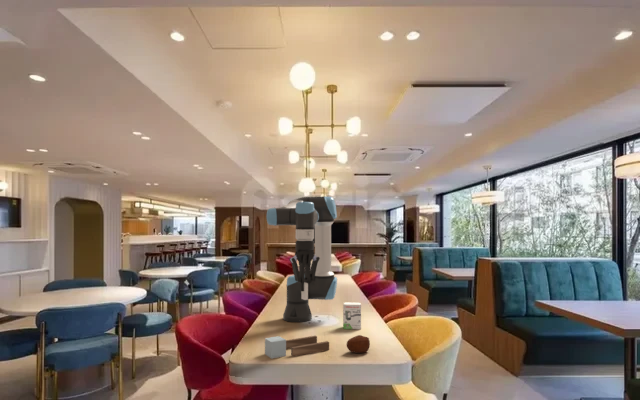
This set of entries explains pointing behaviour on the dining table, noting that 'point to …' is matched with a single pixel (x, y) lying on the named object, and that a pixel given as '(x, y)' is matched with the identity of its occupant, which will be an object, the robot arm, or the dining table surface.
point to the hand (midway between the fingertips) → (304, 299)
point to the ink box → (351, 315)
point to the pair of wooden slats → (306, 345)
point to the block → (275, 347)
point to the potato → (358, 344)
